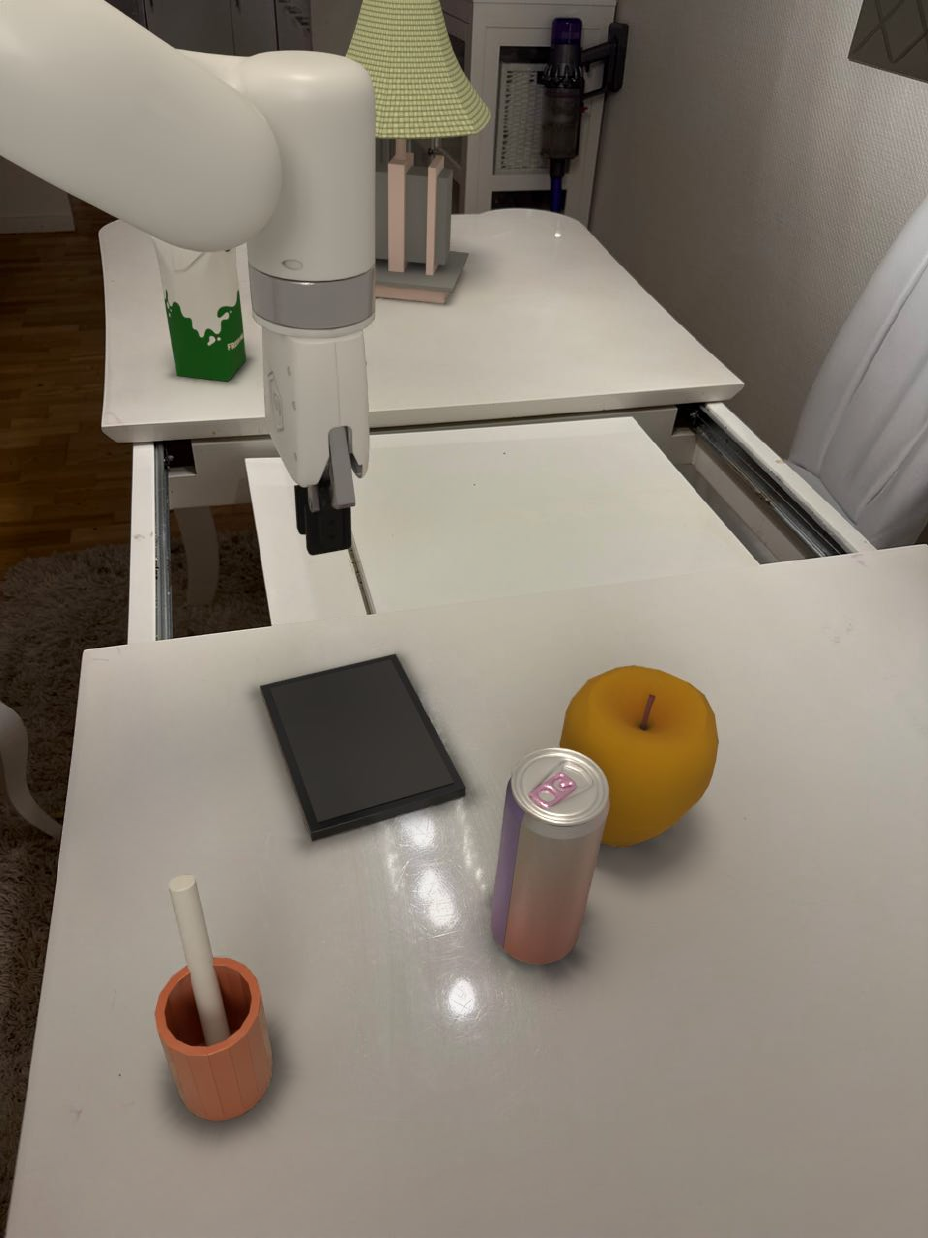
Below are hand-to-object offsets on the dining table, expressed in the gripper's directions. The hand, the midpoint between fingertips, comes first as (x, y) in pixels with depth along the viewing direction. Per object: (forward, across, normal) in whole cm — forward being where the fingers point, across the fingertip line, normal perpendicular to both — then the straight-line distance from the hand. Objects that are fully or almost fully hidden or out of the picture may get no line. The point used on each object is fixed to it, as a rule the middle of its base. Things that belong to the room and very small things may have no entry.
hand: (323, 538), depth 68 cm
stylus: (+16, +28, -14) cm, 35 cm away
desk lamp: (+16, -88, +38) cm, 97 cm away
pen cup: (+16, +28, -14) cm, 35 cm away
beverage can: (+16, +26, +7) cm, 31 cm away
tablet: (+16, +6, +1) cm, 17 cm away
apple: (+16, +20, +17) cm, 30 cm away
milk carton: (+16, -65, +3) cm, 67 cm away
